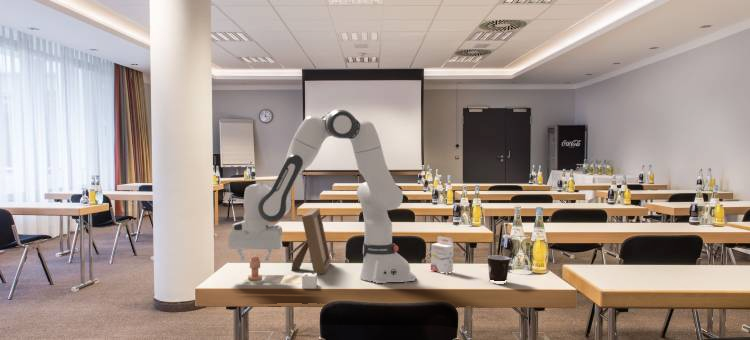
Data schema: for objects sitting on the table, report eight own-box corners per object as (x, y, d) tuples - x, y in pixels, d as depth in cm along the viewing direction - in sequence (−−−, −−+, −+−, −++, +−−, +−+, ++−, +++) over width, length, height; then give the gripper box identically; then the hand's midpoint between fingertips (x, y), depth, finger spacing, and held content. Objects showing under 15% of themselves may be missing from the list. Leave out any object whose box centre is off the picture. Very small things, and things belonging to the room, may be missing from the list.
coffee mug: (488, 278, 204) (488, 254, 203) (510, 280, 201) (510, 256, 200) (484, 285, 193) (485, 260, 192) (507, 288, 190) (508, 262, 189)
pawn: (262, 277, 197) (263, 254, 197) (260, 280, 192) (260, 257, 192) (249, 277, 197) (249, 254, 197) (246, 280, 192) (246, 257, 191)
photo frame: (330, 263, 225) (331, 208, 224) (325, 275, 203) (325, 214, 202) (298, 262, 225) (298, 207, 224) (288, 274, 204) (289, 213, 203)
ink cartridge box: (429, 271, 215) (430, 237, 214) (436, 269, 218) (437, 235, 218) (447, 274, 209) (447, 239, 208) (453, 272, 213) (454, 238, 212)
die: (316, 286, 188) (317, 272, 188) (315, 289, 183) (315, 276, 183) (303, 286, 188) (303, 272, 188) (302, 289, 183) (302, 276, 183)
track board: (304, 276, 202) (304, 274, 202) (300, 285, 188) (300, 284, 188) (247, 275, 201) (247, 274, 201) (239, 284, 187) (239, 283, 187)
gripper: (283, 223, 197) (283, 258, 198) (231, 223, 197) (231, 258, 197) (281, 226, 191) (281, 262, 192) (227, 226, 190) (227, 262, 191)
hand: (255, 260), depth 194 cm, fingers open, 8 cm apart
